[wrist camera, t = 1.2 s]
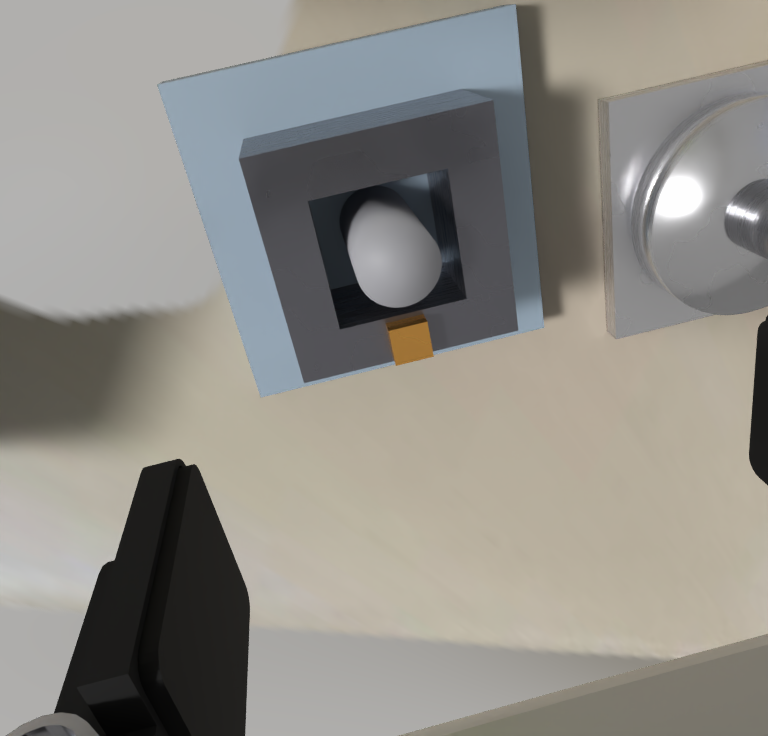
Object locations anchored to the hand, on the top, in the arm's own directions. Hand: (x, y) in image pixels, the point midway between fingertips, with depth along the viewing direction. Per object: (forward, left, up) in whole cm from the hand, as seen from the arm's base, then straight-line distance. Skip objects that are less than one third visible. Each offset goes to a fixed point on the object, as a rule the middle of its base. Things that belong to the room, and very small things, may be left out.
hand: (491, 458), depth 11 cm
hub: (+2, +13, -15) cm, 20 cm away
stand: (0, 0, -15) cm, 15 cm away
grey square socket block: (0, 0, -14) cm, 14 cm away
